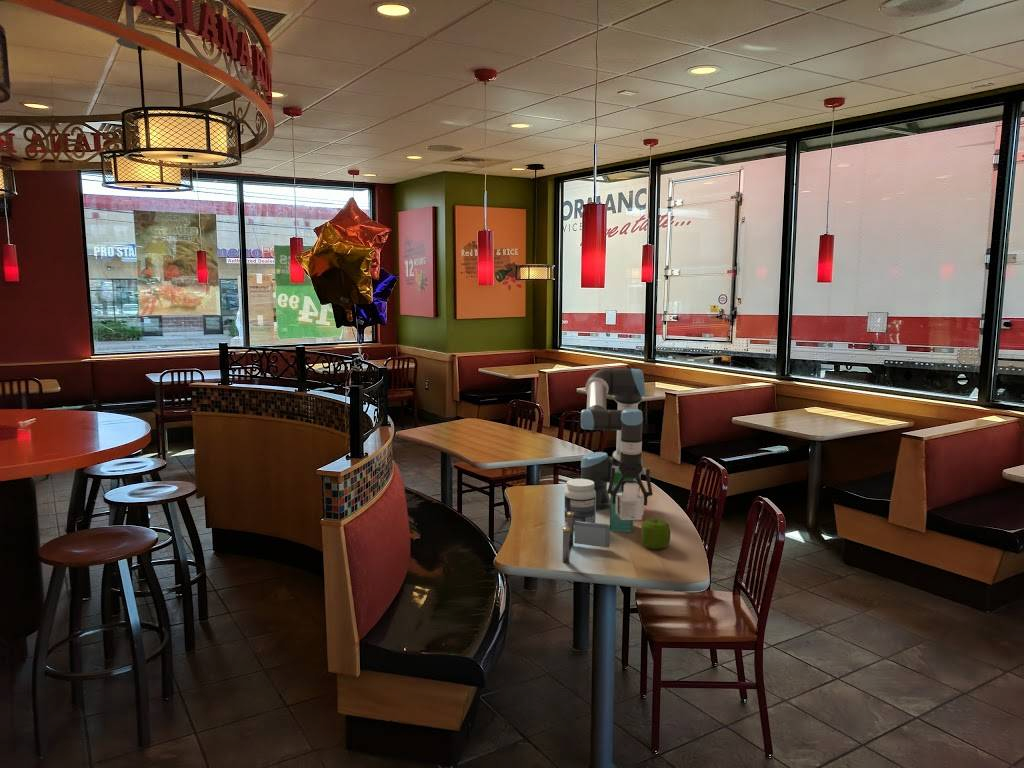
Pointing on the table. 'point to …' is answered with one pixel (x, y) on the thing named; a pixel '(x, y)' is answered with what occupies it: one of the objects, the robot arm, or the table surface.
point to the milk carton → (615, 520)
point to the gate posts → (568, 536)
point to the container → (630, 501)
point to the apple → (655, 533)
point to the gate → (592, 534)
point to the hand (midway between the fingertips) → (629, 513)
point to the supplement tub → (580, 500)
